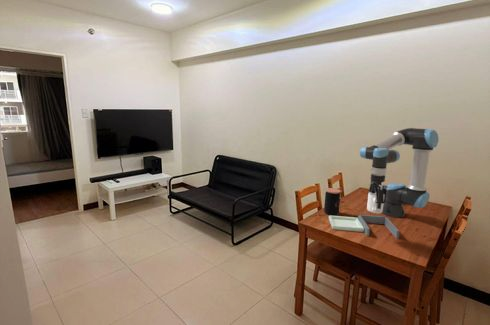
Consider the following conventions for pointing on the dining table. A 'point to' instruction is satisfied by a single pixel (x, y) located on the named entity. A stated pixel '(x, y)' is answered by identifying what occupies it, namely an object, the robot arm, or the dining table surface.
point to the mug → (372, 202)
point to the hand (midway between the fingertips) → (374, 209)
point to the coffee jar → (332, 201)
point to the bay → (379, 220)
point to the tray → (346, 223)
